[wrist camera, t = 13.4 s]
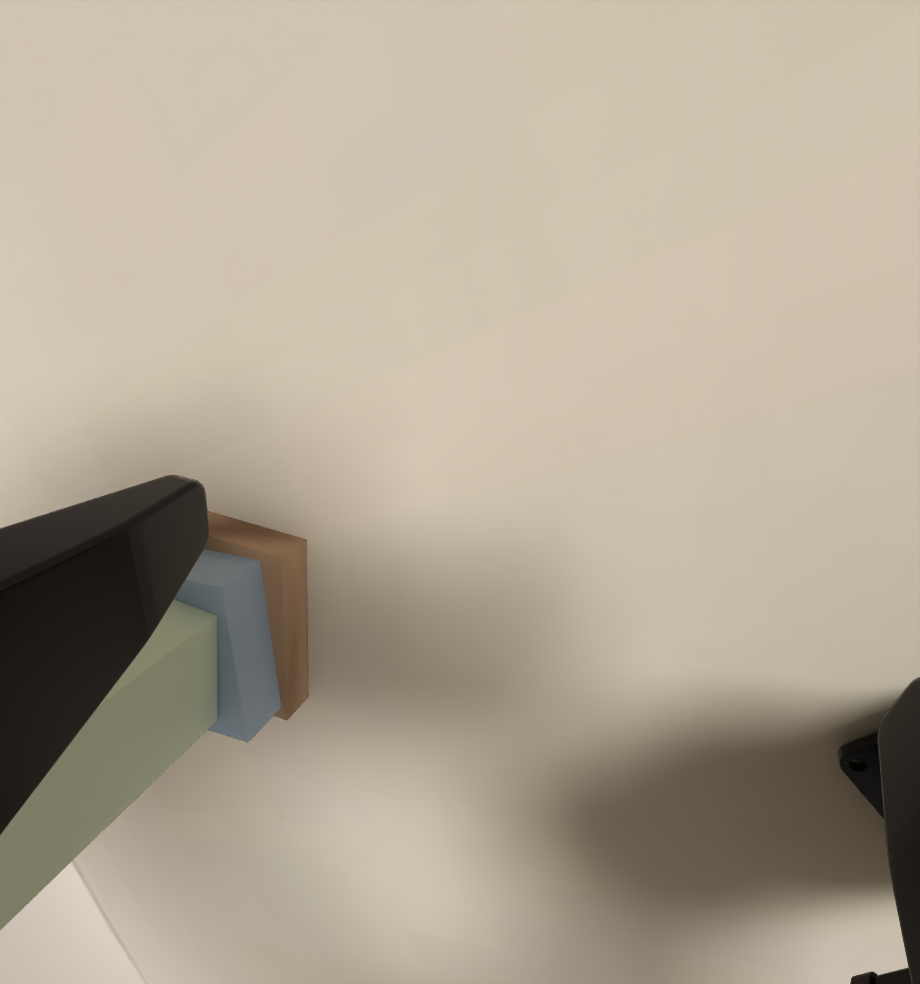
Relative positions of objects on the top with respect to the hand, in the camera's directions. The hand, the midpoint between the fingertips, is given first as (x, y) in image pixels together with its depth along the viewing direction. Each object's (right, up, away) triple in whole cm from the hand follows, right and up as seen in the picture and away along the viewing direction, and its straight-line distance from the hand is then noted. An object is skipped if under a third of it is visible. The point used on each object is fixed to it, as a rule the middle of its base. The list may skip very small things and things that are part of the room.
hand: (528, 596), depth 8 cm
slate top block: (-12, -4, +20) cm, 23 cm away
